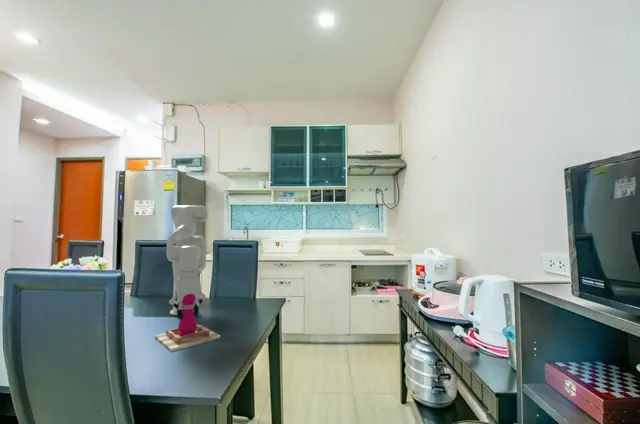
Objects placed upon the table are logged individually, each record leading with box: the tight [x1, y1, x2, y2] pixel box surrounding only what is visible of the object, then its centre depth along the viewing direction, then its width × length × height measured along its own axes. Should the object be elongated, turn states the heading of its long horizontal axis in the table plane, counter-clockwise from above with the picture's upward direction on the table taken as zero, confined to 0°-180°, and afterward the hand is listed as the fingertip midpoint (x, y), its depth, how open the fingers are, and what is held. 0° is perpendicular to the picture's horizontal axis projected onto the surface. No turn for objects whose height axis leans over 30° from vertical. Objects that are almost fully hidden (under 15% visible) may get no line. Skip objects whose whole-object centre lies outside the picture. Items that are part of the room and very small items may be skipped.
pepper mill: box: [177, 294, 198, 337], centre depth 129 cm, size 7×7×20 cm
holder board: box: [154, 323, 221, 352], centre depth 130 cm, size 20×20×3 cm
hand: (187, 316), depth 130 cm, fingers open, 5 cm apart
